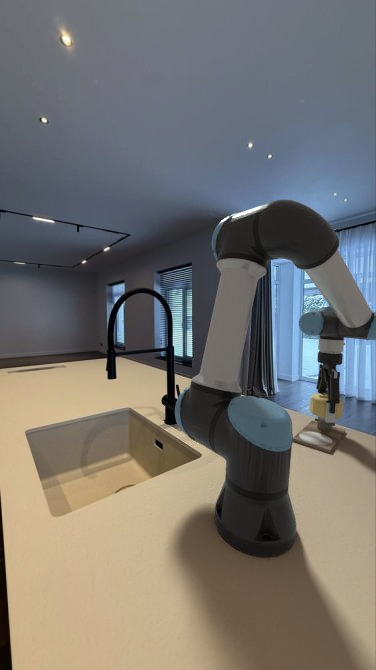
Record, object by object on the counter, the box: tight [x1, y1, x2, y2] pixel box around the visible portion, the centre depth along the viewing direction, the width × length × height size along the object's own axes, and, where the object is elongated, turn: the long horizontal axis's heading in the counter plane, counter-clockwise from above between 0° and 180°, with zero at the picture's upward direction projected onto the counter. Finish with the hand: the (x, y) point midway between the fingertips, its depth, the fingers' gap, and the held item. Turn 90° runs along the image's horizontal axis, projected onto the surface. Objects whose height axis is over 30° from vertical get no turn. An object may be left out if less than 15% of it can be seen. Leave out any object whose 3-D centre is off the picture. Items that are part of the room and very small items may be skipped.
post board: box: [293, 416, 346, 454], centre depth 93 cm, size 20×11×9 cm, turn 140°
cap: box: [309, 393, 344, 420], centre depth 96 cm, size 9×9×6 cm
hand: (325, 416), depth 97 cm, fingers closed on cap, 9 cm apart
